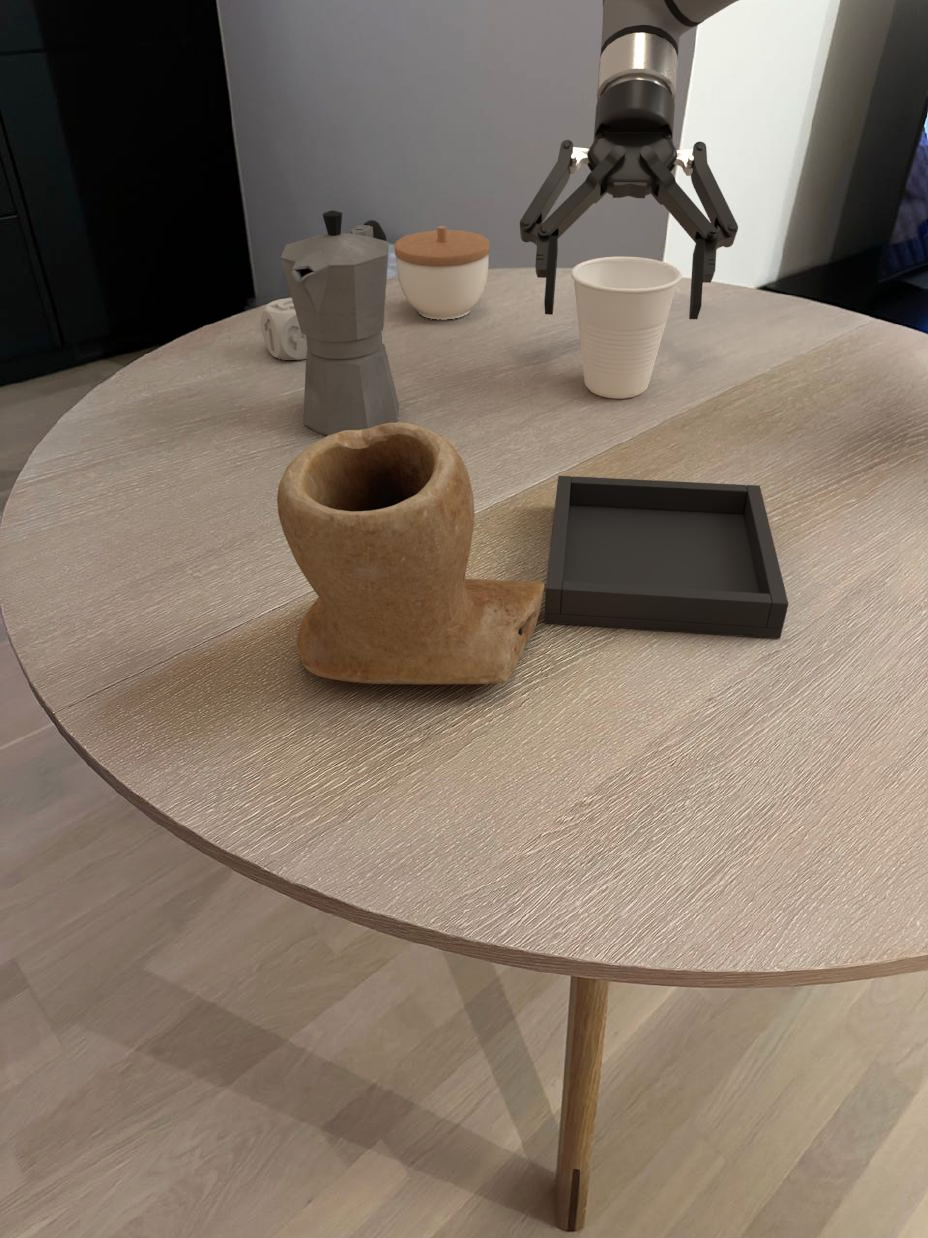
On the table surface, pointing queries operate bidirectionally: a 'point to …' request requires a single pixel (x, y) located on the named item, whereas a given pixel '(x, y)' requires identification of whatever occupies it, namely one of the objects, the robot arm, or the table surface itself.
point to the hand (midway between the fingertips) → (621, 310)
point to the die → (283, 331)
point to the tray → (664, 558)
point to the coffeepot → (343, 325)
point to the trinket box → (442, 271)
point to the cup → (622, 320)
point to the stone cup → (397, 564)
